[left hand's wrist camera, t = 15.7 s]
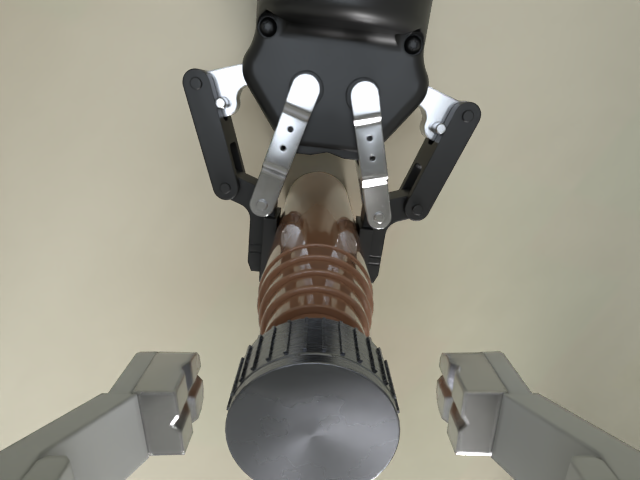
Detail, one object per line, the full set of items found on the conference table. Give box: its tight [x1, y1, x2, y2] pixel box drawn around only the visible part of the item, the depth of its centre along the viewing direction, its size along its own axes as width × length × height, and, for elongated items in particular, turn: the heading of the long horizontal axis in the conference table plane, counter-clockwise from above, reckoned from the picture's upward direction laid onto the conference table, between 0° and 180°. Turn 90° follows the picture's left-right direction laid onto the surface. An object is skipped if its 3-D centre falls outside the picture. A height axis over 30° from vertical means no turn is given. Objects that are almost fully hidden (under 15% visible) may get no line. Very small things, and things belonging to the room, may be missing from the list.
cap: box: [225, 317, 400, 480], centre depth 10 cm, size 4×4×2 cm
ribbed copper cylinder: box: [257, 172, 374, 337], centre depth 18 cm, size 4×4×20 cm
